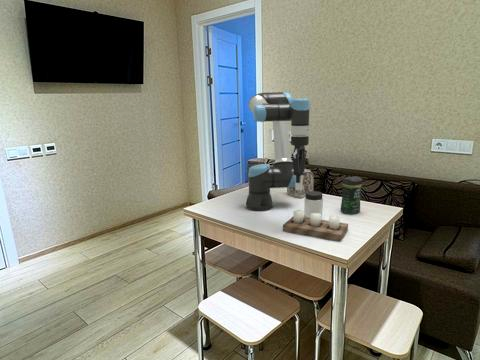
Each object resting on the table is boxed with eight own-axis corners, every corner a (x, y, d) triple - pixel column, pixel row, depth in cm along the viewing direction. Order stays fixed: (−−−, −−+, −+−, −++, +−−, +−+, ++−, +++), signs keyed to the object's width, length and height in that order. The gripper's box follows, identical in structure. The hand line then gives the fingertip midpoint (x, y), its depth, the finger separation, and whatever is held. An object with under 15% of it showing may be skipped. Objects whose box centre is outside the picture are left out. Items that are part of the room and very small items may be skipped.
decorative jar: (313, 195, 195) (314, 166, 191) (299, 198, 189) (300, 169, 185) (300, 191, 205) (300, 164, 201) (286, 194, 199) (286, 166, 195)
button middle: (309, 226, 139) (309, 215, 138) (312, 222, 143) (312, 212, 142) (318, 227, 137) (319, 216, 136) (321, 224, 141) (322, 213, 140)
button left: (291, 223, 143) (291, 212, 142) (295, 220, 147) (295, 209, 146) (301, 224, 141) (301, 213, 140) (304, 221, 145) (304, 211, 143)
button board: (282, 231, 141) (282, 224, 140) (294, 221, 153) (294, 214, 152) (340, 241, 128) (340, 234, 128) (347, 230, 140) (348, 223, 140)
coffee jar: (350, 215, 158) (352, 179, 154) (337, 211, 165) (339, 176, 161) (363, 212, 163) (365, 176, 159) (350, 208, 170) (352, 174, 166)
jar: (325, 217, 157) (326, 194, 154) (312, 220, 153) (313, 196, 150) (314, 212, 165) (314, 190, 162) (301, 215, 161) (301, 192, 158)
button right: (327, 229, 135) (327, 217, 134) (330, 225, 139) (330, 214, 138) (337, 230, 133) (338, 219, 132) (340, 227, 137) (340, 216, 136)
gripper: (303, 137, 128) (302, 193, 133) (313, 134, 139) (311, 187, 144) (285, 136, 131) (285, 192, 137) (296, 134, 142) (295, 185, 148)
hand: (298, 189), depth 140 cm, fingers closed
